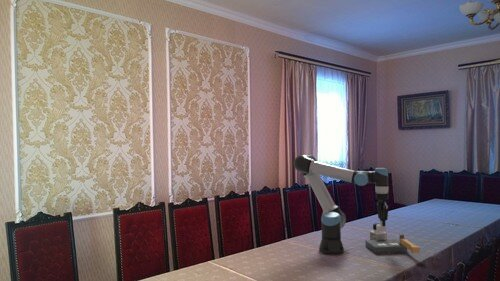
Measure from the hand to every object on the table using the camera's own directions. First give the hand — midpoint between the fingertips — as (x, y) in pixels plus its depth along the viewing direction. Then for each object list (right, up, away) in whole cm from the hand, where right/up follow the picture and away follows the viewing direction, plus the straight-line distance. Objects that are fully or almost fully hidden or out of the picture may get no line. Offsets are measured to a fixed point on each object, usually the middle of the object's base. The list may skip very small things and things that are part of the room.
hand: (383, 230), depth 214 cm
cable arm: (+12, -8, -8) cm, 16 cm away
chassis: (+3, -13, +3) cm, 13 cm away
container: (+3, -13, +17) cm, 21 cm away
